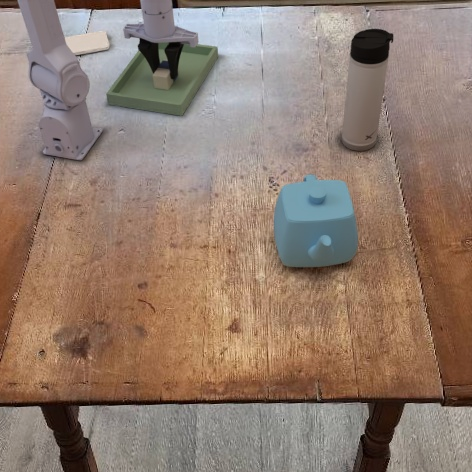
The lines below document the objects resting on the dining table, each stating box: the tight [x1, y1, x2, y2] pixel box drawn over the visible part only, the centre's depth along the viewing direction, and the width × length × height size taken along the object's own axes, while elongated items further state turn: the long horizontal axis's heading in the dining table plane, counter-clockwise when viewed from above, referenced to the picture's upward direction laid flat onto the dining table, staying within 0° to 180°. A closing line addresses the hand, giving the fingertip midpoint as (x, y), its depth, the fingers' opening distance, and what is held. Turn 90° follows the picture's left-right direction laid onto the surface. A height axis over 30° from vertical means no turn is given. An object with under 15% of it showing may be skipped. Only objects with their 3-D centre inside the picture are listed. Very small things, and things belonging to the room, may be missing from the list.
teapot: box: [273, 173, 359, 268], centre depth 102 cm, size 12×18×12 cm
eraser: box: [153, 60, 179, 90], centre depth 135 cm, size 6×3×3 cm, turn 162°
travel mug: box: [341, 28, 394, 152], centre depth 115 cm, size 6×7×20 cm
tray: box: [105, 42, 219, 117], centre depth 137 cm, size 22×16×2 cm
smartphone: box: [64, 30, 110, 56], centre depth 147 cm, size 7×1×15 cm
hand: (166, 75), depth 135 cm, fingers closed on eraser, 3 cm apart
